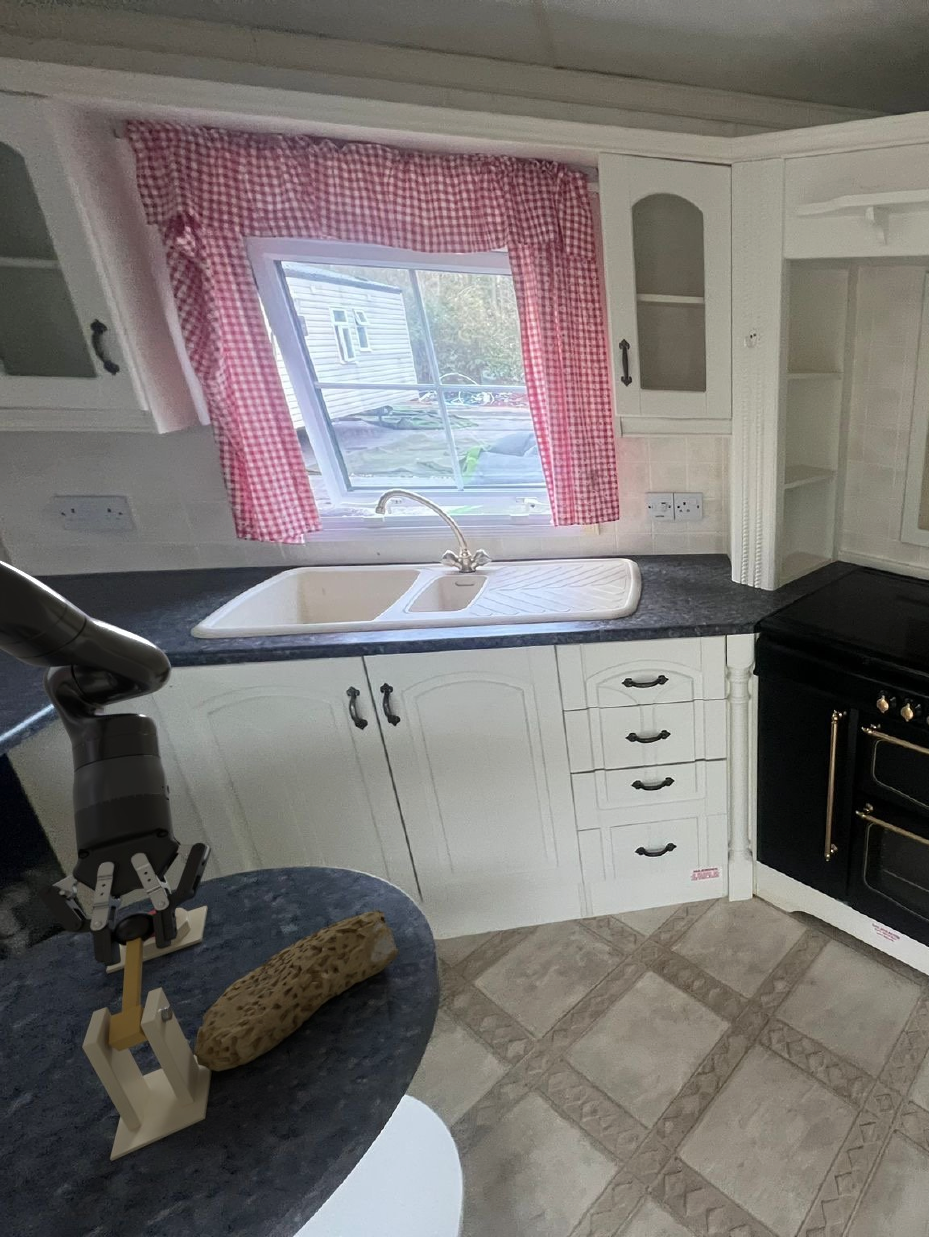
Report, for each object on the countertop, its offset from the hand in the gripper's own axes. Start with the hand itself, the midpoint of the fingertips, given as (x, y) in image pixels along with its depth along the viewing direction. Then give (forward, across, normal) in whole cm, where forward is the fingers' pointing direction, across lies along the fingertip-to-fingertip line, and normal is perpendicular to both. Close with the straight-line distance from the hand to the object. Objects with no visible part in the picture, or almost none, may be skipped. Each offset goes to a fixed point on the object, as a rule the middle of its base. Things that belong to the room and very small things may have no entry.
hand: (139, 954), depth 71 cm
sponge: (+11, +12, +9) cm, 19 cm away
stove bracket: (+16, 0, +4) cm, 16 cm away
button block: (-4, -4, +24) cm, 24 cm away
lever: (+3, 0, -1) cm, 3 cm away
